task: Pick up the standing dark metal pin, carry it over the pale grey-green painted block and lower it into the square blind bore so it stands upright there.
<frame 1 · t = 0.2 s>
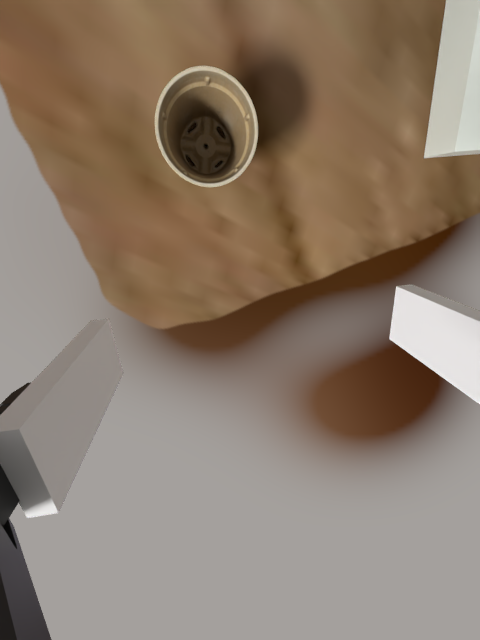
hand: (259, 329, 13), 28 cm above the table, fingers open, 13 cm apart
flower pot: (206, 147, 35), on the table
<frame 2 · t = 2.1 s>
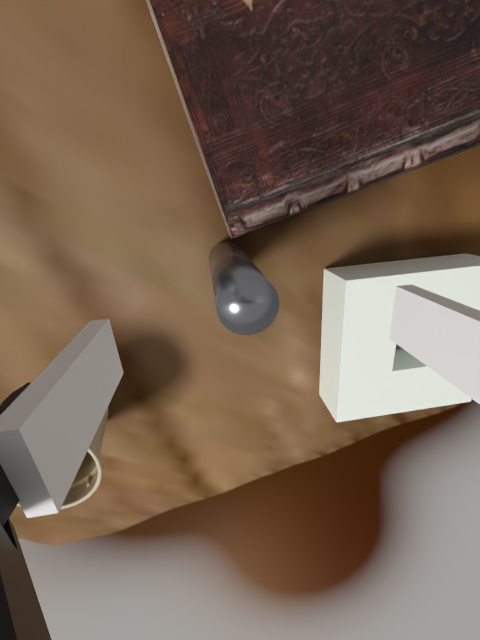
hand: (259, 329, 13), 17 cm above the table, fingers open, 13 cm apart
hardback book: (350, 64, 24), on the table
flower pot: (81, 406, 33), on the table
pin: (226, 258, 28), on the table
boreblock: (387, 328, 34), on the table
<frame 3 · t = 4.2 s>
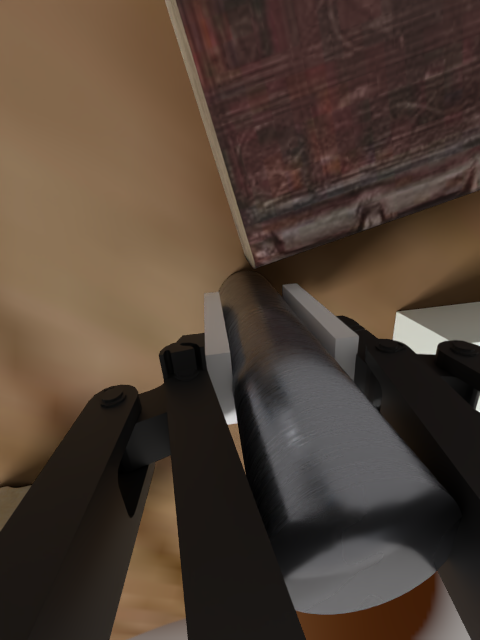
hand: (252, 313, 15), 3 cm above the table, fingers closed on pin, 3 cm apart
flower pot: (28, 509, 22), on the table
pin: (245, 298, 18), on the table, touching gripper
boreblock: (479, 394, 23), on the table
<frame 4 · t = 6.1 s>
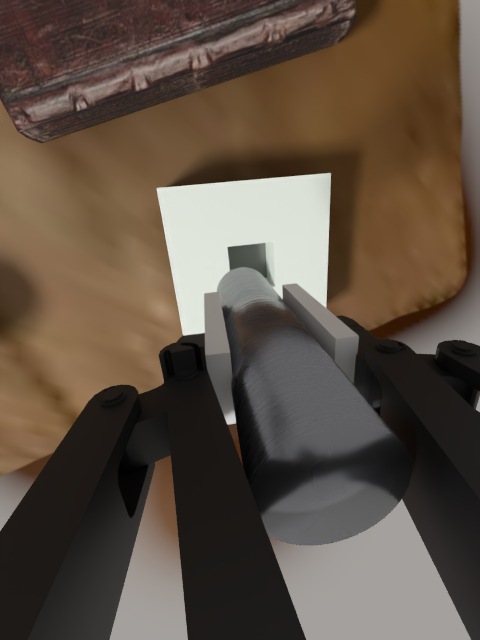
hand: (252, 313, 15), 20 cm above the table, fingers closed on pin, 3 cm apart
pin: (242, 293, 19), point 16 cm above the table, touching gripper
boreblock: (244, 258, 34), on the table
when the fingers open (6 cm above the table, at t = 8.4 s): pin stays where it is, resting on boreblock.
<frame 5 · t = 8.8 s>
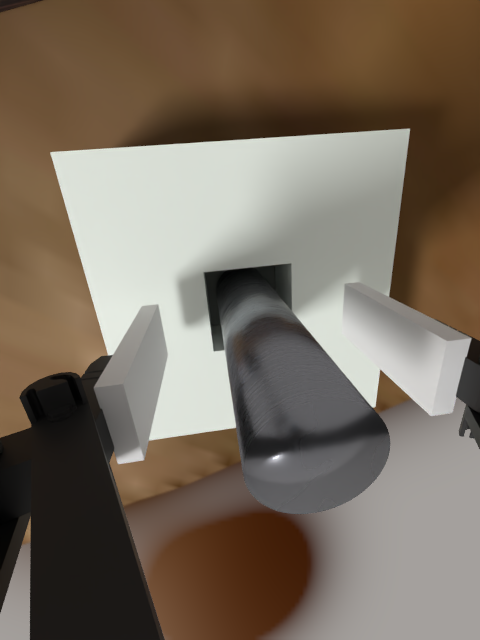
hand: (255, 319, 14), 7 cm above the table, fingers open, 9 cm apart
pin: (241, 290, 19), point 1 cm above the table, touching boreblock
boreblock: (239, 285, 20), on the table
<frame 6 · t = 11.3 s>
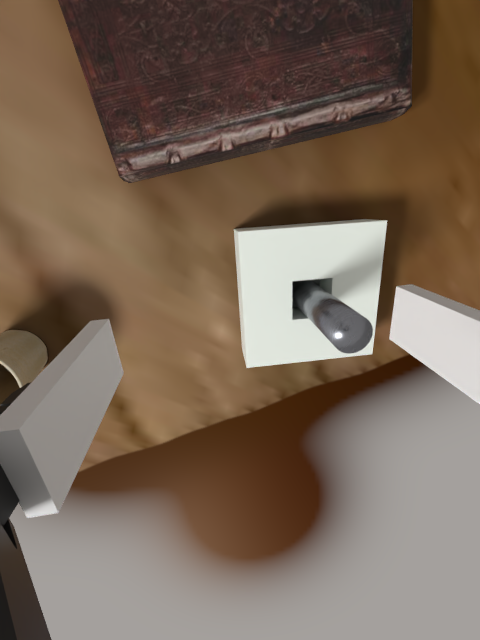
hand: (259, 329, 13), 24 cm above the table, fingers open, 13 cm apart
hardback book: (240, 49, 29), on the table
flower pot: (24, 350, 37), on the table
pin: (301, 290, 37), point 1 cm above the table, touching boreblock
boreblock: (299, 288, 38), on the table
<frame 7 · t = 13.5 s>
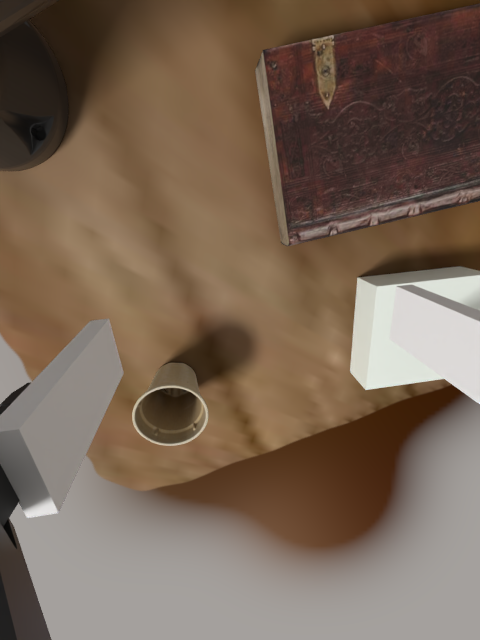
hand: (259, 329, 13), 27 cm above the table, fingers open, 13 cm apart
hardback book: (380, 141, 36), on the table
flower pot: (176, 378, 45), on the table
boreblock: (402, 321, 45), on the table
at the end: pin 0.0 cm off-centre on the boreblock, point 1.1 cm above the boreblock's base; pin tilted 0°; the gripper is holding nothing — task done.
